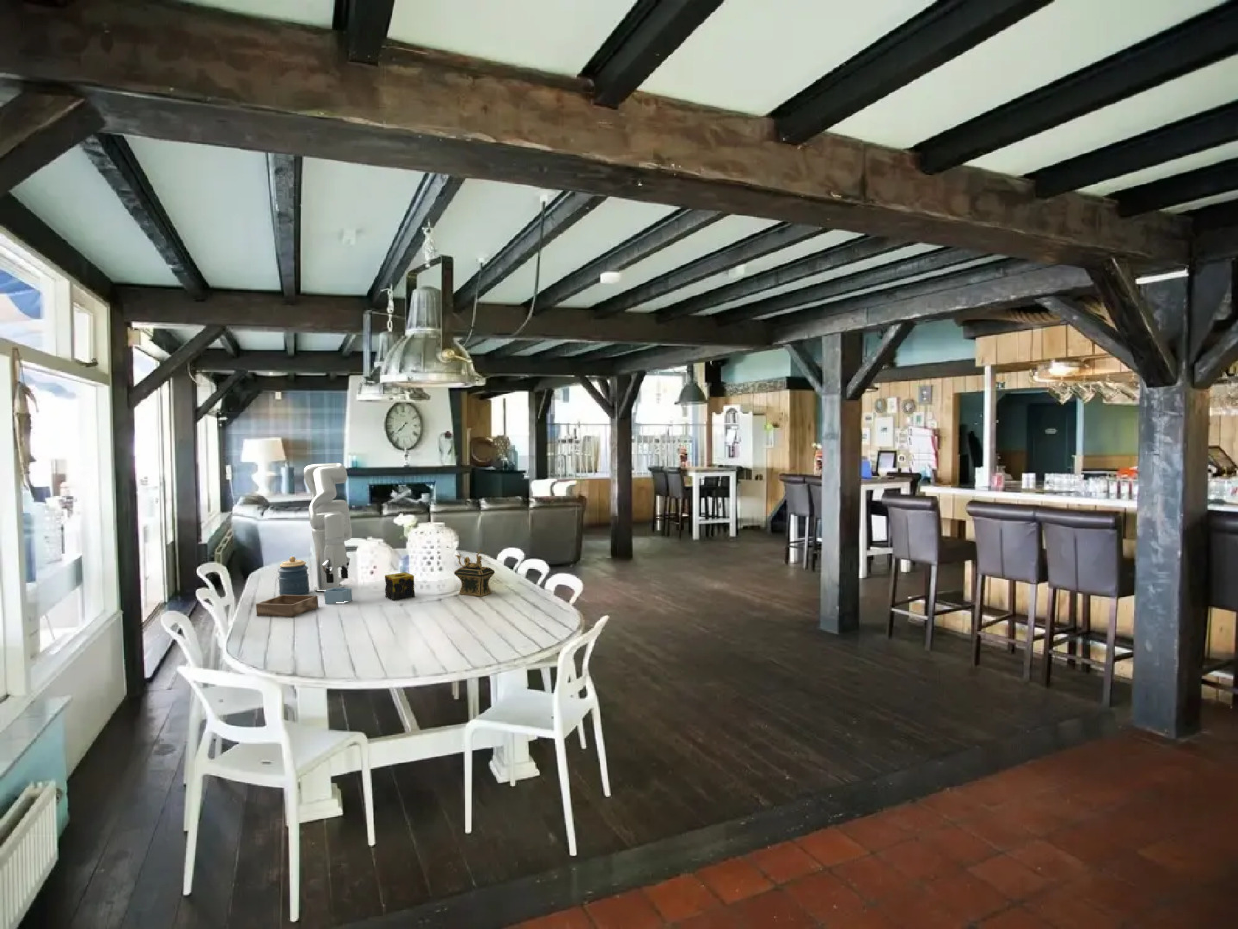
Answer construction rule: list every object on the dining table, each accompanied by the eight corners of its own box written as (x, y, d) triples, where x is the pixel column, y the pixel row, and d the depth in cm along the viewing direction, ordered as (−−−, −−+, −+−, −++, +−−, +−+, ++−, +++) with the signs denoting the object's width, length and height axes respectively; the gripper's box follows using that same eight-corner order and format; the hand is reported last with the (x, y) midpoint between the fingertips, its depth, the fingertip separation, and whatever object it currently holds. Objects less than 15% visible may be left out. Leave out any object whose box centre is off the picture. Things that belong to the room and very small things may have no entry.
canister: (305, 589, 343) (302, 553, 342) (313, 594, 333) (311, 556, 332) (275, 594, 335) (273, 557, 334) (283, 599, 325) (281, 560, 324)
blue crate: (334, 600, 319) (333, 587, 319) (352, 600, 317) (351, 588, 316) (325, 603, 313) (324, 591, 313) (342, 604, 310) (342, 591, 310)
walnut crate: (283, 606, 311) (283, 594, 311) (318, 607, 307) (317, 595, 306) (256, 615, 296) (256, 603, 296) (292, 617, 292) (291, 605, 291)
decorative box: (497, 592, 322) (495, 549, 321) (482, 597, 313) (480, 552, 312) (463, 589, 332) (461, 546, 331) (448, 593, 324) (446, 550, 322)
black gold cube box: (385, 597, 321) (383, 575, 321) (407, 593, 327) (405, 571, 327) (393, 601, 313) (391, 578, 312) (415, 597, 319) (414, 575, 318)
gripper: (340, 538, 322) (342, 576, 323) (314, 544, 306) (316, 584, 306) (354, 538, 320) (357, 576, 321) (329, 544, 304) (332, 584, 304)
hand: (337, 580), depth 313 cm, fingers open, 9 cm apart
